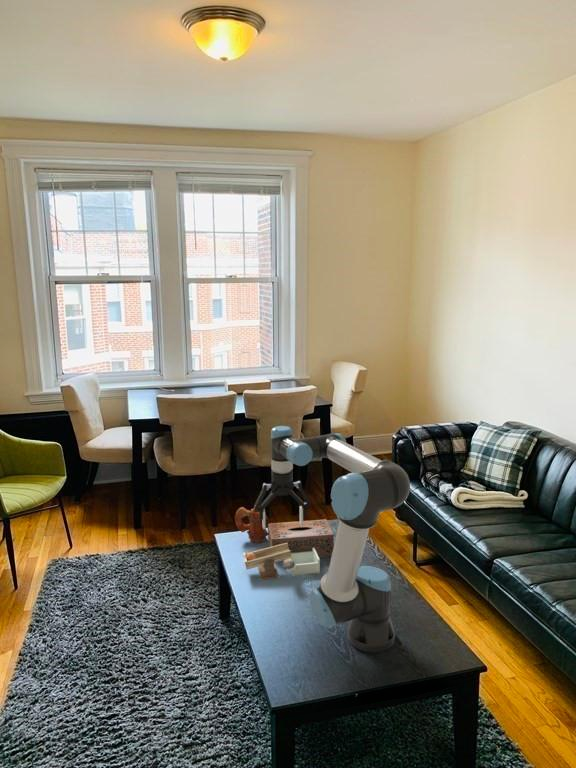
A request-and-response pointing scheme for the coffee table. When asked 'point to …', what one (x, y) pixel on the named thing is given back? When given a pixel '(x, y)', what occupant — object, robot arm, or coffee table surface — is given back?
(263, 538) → the mug
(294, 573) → the bin
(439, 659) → the coffee table surface
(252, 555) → the ball
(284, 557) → the lever
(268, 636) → the coffee table surface
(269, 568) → the fulcrum
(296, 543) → the tissue box cover
